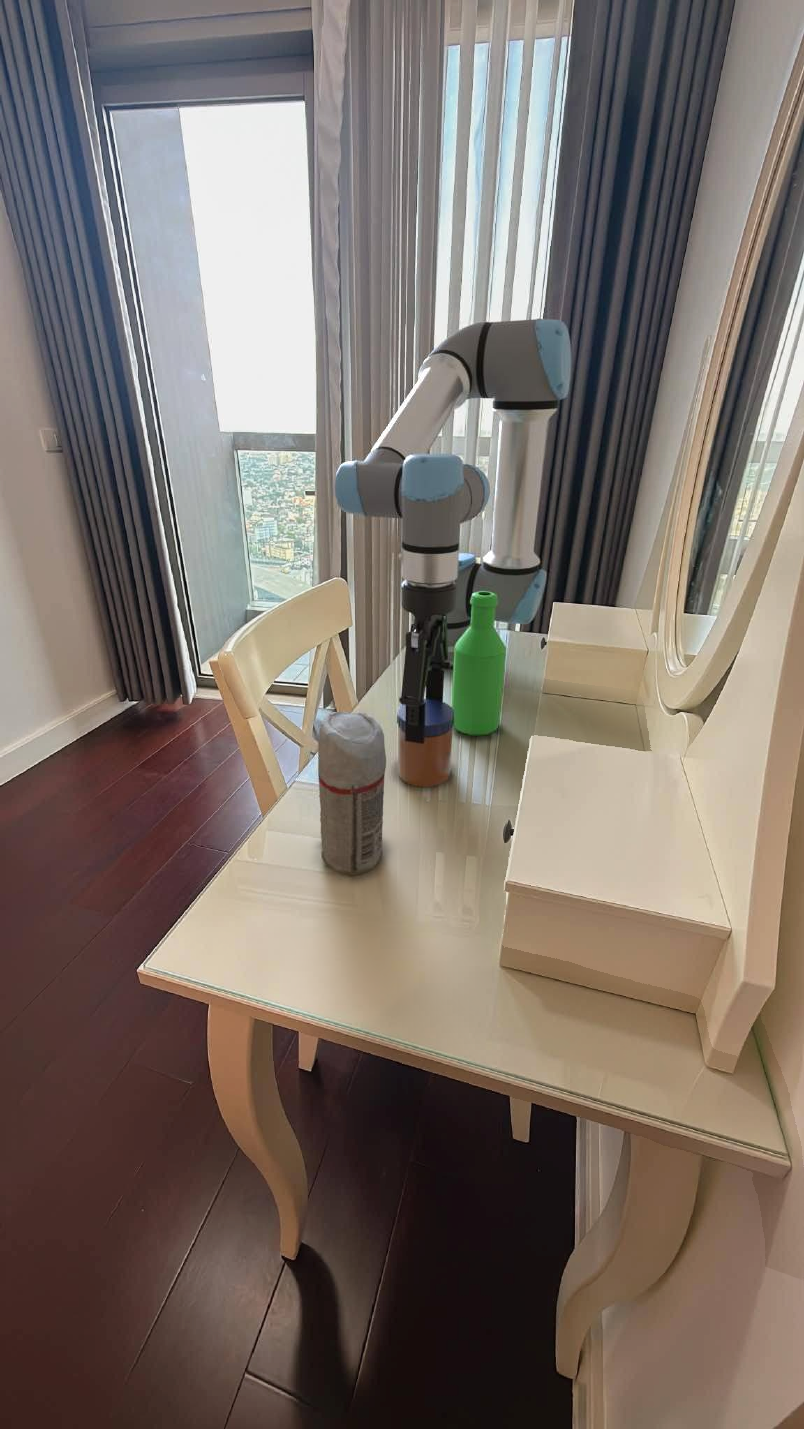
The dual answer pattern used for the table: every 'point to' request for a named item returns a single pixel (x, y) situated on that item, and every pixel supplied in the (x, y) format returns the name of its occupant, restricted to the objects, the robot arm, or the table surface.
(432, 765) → the jar
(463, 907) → the table surface
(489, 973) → the table surface
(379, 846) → the spray can
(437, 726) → the lid
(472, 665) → the bottle
